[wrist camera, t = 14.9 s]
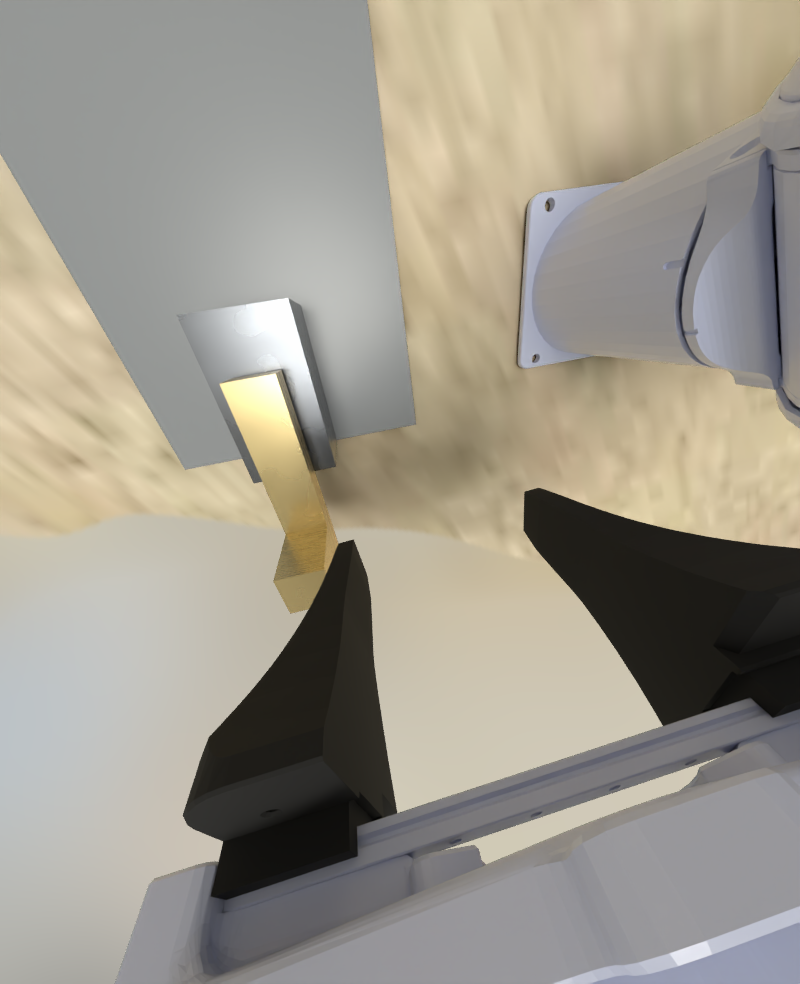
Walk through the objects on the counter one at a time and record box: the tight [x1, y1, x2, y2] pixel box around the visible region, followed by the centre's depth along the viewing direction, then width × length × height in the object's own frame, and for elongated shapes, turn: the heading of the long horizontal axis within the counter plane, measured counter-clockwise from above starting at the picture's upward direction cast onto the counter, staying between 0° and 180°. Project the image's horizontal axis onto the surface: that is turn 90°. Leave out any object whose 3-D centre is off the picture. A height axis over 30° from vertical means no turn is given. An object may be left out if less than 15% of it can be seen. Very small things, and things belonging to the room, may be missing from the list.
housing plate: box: [0, 0, 416, 483], centre depth 12 cm, size 14×16×5 cm
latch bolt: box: [220, 370, 338, 613], centre depth 12 cm, size 2×10×4 cm, turn 8°
